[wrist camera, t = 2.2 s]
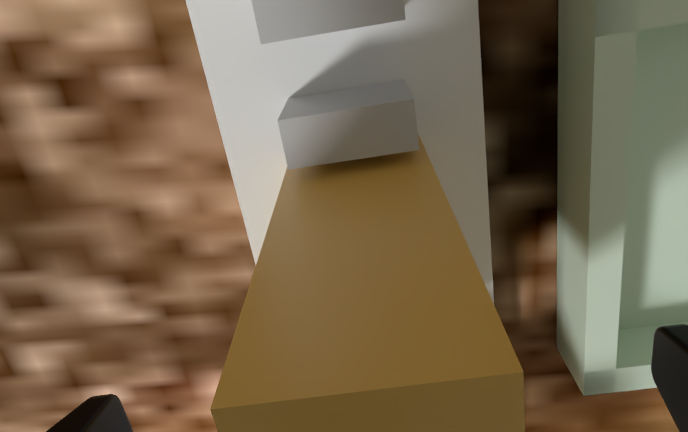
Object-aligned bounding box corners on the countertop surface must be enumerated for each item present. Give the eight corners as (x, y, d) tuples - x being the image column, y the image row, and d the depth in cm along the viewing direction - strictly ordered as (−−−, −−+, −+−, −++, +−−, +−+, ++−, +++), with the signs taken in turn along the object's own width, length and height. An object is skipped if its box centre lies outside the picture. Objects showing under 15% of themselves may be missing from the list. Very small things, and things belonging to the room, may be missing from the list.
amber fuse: (437, 313, 14) (532, 668, 7) (327, 327, 14) (307, 686, 7) (418, 134, 12) (523, 372, 5) (291, 154, 12) (209, 408, 5)
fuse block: (500, 529, 19) (525, 620, 17) (337, 545, 20) (336, 637, 17) (437, -511, 9) (477, -732, 6) (89, -426, 9) (-21, -596, 6)
